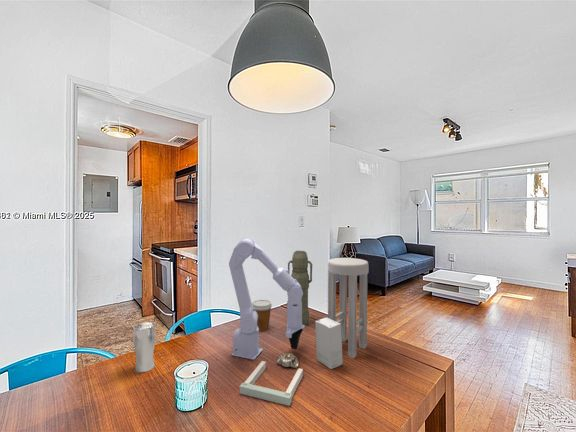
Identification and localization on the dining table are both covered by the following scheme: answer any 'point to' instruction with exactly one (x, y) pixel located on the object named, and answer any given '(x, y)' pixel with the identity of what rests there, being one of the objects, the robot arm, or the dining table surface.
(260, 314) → the disposable coffee cup
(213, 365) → the dining table surface
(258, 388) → the u-shaped frame
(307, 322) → the thermos
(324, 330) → the skincare box
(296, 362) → the ornament
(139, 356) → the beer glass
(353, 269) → the stool
